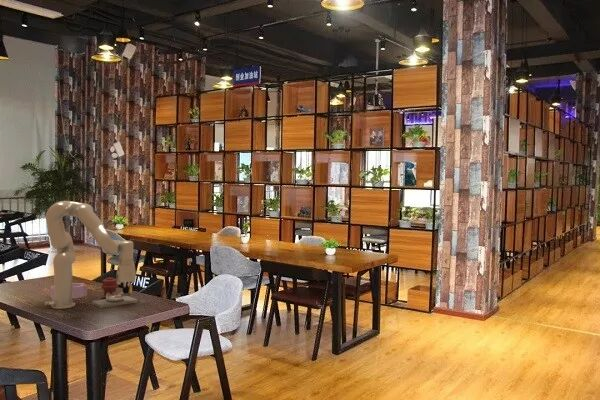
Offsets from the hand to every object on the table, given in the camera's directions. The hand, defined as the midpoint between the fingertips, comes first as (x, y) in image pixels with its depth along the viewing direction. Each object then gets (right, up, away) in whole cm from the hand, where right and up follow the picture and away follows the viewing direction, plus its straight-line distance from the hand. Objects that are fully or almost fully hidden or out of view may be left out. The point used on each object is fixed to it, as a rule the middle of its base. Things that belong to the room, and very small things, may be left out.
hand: (125, 293), depth 311 cm
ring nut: (-6, -5, +5) cm, 9 cm away
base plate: (-8, -7, +4) cm, 11 cm away
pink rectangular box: (-41, -6, +18) cm, 46 cm away
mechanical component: (-15, -6, +17) cm, 23 cm away
